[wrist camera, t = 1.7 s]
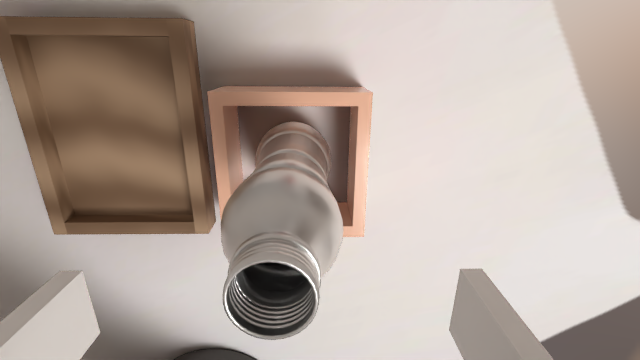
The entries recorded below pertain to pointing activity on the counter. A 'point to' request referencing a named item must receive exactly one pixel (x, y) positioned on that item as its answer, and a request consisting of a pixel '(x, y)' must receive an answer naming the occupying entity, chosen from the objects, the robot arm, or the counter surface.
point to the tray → (112, 122)
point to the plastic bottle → (281, 234)
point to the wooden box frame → (232, 96)
